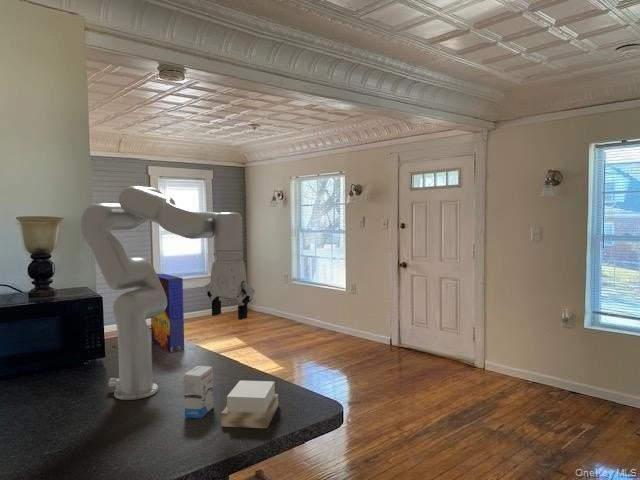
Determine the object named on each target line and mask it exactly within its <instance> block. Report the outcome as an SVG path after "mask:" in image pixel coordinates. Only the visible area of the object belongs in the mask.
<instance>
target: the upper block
mask: <svg viewBox="0 0 640 480" xmlns="http://www.w3.org/2000/svg"><path fill="white" fill-rule="evenodd" d="M275 383H276V382H275V381H270V380H269V381H268V380H267V381H266V380H265V381H264V380H239V381H238V382H237V384H236V385H235V386H234V387H233V389H232V390H231V391H230V392H229V393H228V395H226V406H227V412H245V413H265V412H266V411H267V409H268V407H269V405H270V403H271V401H272V400H273V398H274V396H275V394H276V393H275V392H276V390H275V389H276V388H275V387H276V386H275Z"/></svg>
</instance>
